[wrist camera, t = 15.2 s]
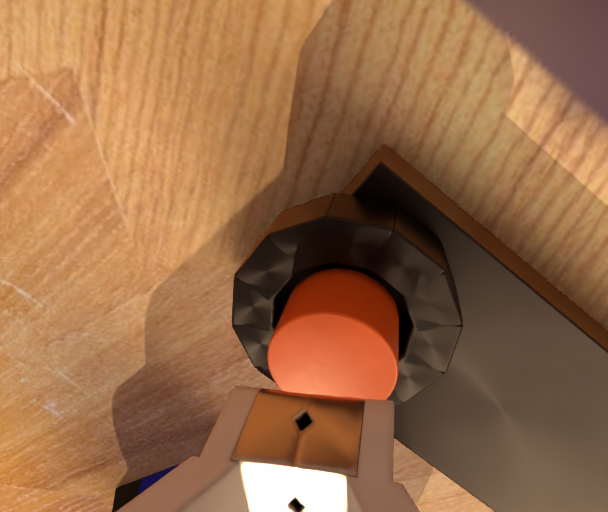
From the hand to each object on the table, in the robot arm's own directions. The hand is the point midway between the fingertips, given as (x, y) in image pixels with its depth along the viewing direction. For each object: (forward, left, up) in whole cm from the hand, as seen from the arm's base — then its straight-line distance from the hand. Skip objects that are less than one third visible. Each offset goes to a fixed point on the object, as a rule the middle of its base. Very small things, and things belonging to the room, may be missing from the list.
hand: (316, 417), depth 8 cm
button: (0, 0, -4) cm, 4 cm away
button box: (+5, +4, -7) cm, 10 cm away
